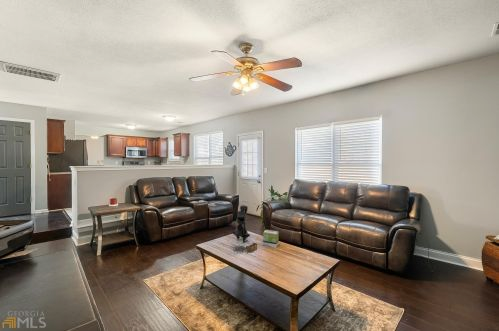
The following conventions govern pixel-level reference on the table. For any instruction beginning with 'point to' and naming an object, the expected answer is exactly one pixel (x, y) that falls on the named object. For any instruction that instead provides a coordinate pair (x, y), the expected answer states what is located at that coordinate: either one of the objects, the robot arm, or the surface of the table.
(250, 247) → the walnut box
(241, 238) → the lid
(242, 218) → the robot arm
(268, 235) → the tea box
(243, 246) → the slate mat
